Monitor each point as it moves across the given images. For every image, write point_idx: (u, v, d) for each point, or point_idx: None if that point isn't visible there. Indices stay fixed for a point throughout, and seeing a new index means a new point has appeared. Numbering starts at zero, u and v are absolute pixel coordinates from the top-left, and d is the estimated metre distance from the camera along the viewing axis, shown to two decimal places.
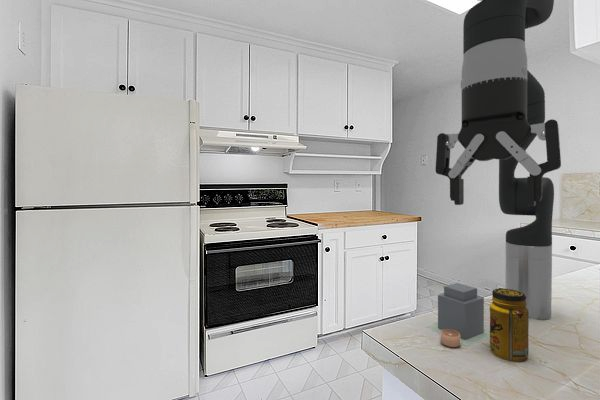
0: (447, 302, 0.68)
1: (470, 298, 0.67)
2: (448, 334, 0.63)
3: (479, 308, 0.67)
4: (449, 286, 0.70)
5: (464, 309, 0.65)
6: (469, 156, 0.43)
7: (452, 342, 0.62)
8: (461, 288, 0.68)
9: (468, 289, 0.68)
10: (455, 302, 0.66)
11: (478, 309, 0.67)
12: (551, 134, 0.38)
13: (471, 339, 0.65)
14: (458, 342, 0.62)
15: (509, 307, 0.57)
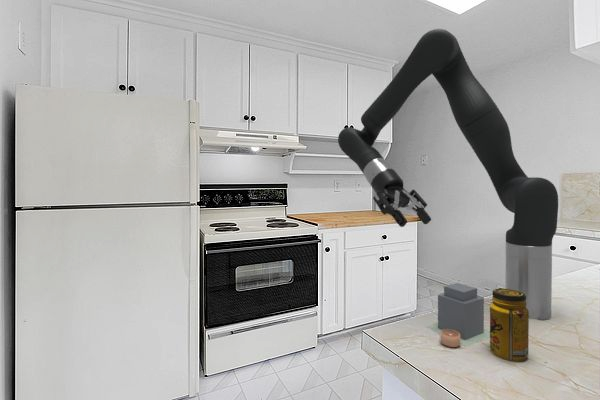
0: (447, 302, 0.68)
1: (470, 298, 0.67)
2: (448, 334, 0.63)
3: (479, 308, 0.67)
4: (449, 286, 0.70)
5: (464, 309, 0.65)
6: (404, 207, 0.84)
7: (452, 342, 0.62)
8: (461, 288, 0.68)
9: (468, 289, 0.68)
10: (455, 302, 0.66)
11: (478, 309, 0.67)
12: None
13: (471, 339, 0.65)
14: (458, 342, 0.62)
15: (509, 307, 0.57)
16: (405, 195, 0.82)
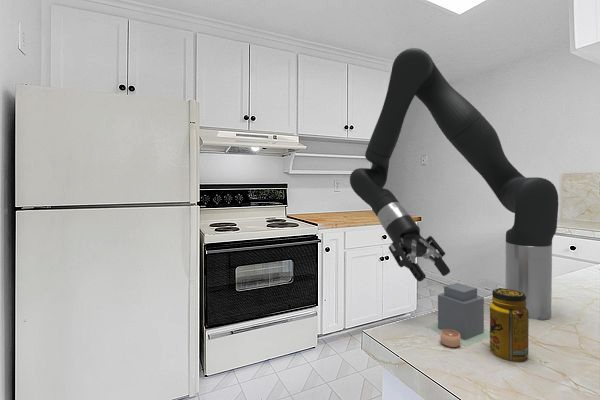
0: (447, 302, 0.68)
1: (470, 298, 0.67)
2: (448, 334, 0.63)
3: (479, 308, 0.67)
4: (449, 286, 0.70)
5: (464, 309, 0.65)
6: (421, 255, 0.80)
7: (452, 342, 0.62)
8: (461, 288, 0.68)
9: (468, 289, 0.68)
10: (455, 302, 0.66)
11: (478, 309, 0.67)
12: None
13: (471, 339, 0.65)
14: (458, 342, 0.62)
15: (509, 307, 0.57)
16: (422, 244, 0.79)
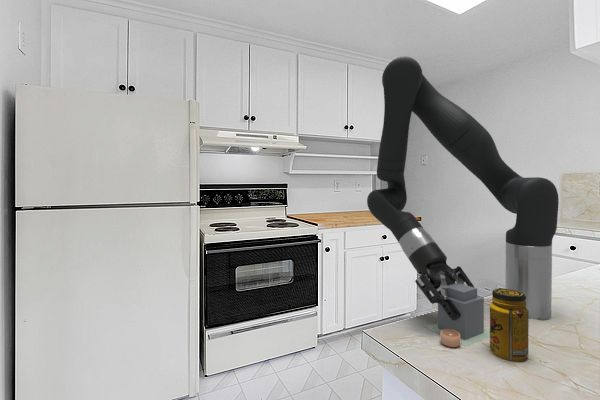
0: None
1: (470, 298, 0.67)
2: (448, 334, 0.63)
3: (479, 308, 0.67)
4: (449, 286, 0.70)
5: (464, 309, 0.65)
6: None
7: (452, 342, 0.62)
8: (461, 288, 0.68)
9: (468, 289, 0.68)
10: (455, 302, 0.66)
11: (478, 309, 0.67)
12: None
13: (471, 339, 0.65)
14: (458, 342, 0.62)
15: (509, 307, 0.57)
16: (450, 275, 0.72)
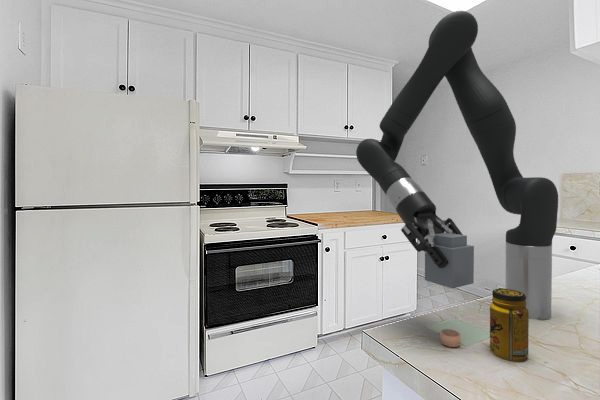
0: None
1: (459, 245, 0.62)
2: (448, 334, 0.63)
3: (468, 256, 0.62)
4: (437, 234, 0.65)
5: (451, 255, 0.60)
6: None
7: (452, 342, 0.62)
8: (449, 235, 0.64)
9: (457, 236, 0.63)
10: (442, 249, 0.62)
11: (467, 257, 0.62)
12: None
13: (471, 339, 0.65)
14: (458, 342, 0.62)
15: (509, 307, 0.57)
16: (438, 224, 0.67)
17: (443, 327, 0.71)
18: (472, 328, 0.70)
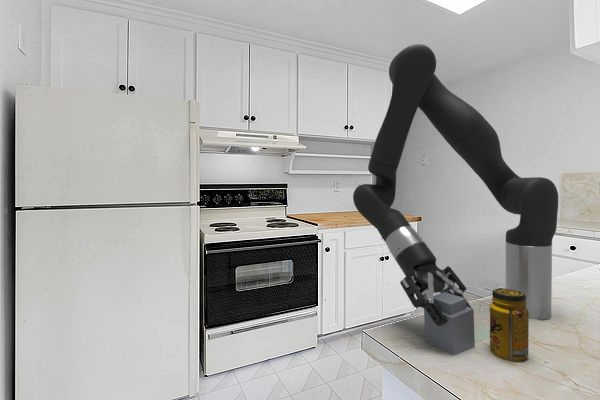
0: None
1: (458, 310, 0.61)
2: None
3: (469, 320, 0.61)
4: (436, 297, 0.64)
5: (451, 323, 0.59)
6: None
7: None
8: (448, 299, 0.62)
9: (456, 300, 0.62)
10: None
11: (468, 321, 0.61)
12: None
13: None
14: None
15: (509, 307, 0.57)
16: (439, 278, 0.66)
17: None
18: None
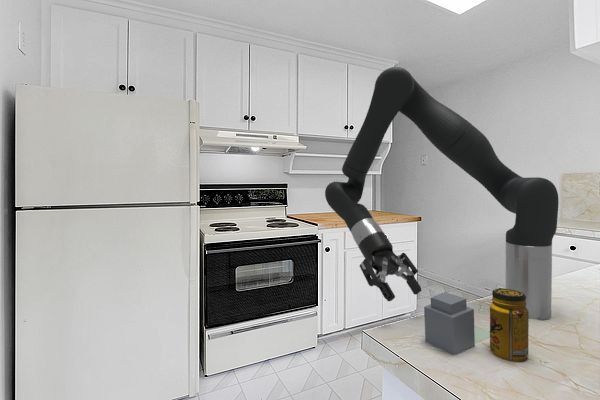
0: (434, 315, 0.62)
1: (459, 310, 0.61)
2: None
3: (469, 320, 0.61)
4: (436, 297, 0.64)
5: (452, 323, 0.59)
6: None
7: None
8: (448, 299, 0.62)
9: (456, 300, 0.62)
10: (442, 315, 0.61)
11: (468, 322, 0.61)
12: None
13: None
14: None
15: (509, 307, 0.57)
16: (394, 262, 0.77)
17: None
18: None
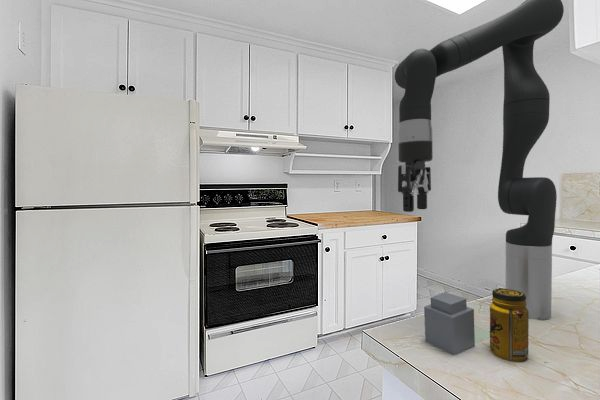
0: (434, 315, 0.62)
1: (459, 310, 0.61)
2: None
3: (469, 320, 0.61)
4: (436, 297, 0.64)
5: (452, 323, 0.59)
6: None
7: None
8: (448, 299, 0.62)
9: (456, 300, 0.62)
10: (442, 315, 0.61)
11: (468, 322, 0.61)
12: None
13: None
14: None
15: (509, 307, 0.57)
16: (423, 176, 0.75)
17: None
18: None
